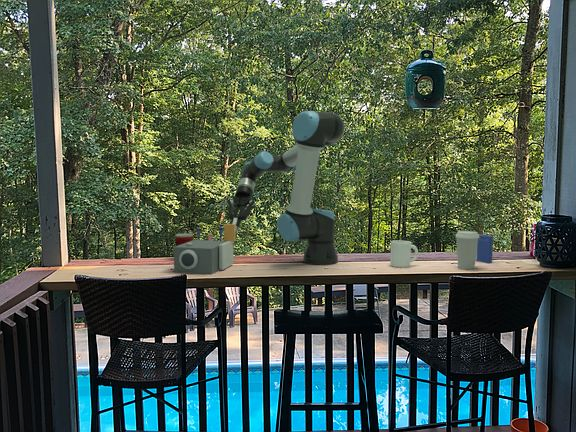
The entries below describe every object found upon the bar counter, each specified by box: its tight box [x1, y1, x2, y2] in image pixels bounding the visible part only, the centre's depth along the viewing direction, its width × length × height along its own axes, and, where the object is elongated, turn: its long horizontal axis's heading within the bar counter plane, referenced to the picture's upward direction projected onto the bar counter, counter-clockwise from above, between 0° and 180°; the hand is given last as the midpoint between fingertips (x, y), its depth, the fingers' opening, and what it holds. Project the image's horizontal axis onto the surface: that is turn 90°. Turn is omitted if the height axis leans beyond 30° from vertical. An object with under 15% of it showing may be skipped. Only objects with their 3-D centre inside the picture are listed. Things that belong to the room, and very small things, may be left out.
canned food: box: [174, 233, 194, 247], centre depth 250 cm, size 8×8×11 cm
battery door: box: [219, 223, 237, 271], centre depth 230 cm, size 4×13×17 cm, turn 166°
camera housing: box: [173, 239, 227, 275], centre depth 228 cm, size 16×22×11 cm
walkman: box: [475, 233, 494, 264], centre depth 247 cm, size 8×3×12 cm, turn 39°
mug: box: [389, 239, 419, 268], centre depth 236 cm, size 12×8×10 cm
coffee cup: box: [455, 230, 480, 270], centre depth 232 cm, size 10×10×15 cm
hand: (233, 231), depth 239 cm, fingers closed
